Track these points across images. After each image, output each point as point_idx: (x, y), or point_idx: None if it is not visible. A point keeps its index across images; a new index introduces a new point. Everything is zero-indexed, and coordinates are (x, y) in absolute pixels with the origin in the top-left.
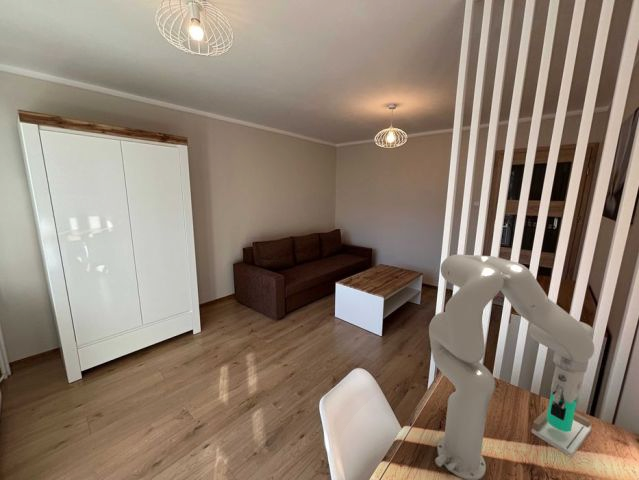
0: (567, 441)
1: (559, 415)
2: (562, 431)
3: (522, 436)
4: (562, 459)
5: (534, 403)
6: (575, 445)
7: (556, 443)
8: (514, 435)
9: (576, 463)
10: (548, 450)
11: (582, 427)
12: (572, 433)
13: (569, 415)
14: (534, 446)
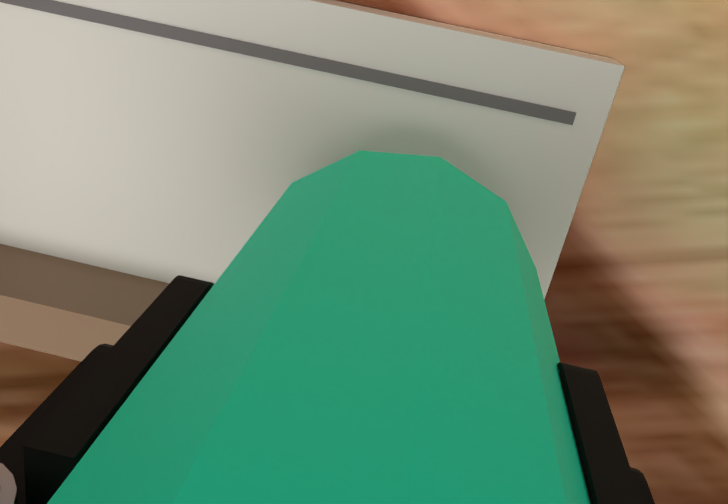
0: (438, 122)
1: (641, 491)
2: (294, 174)
3: (630, 430)
4: (708, 128)
5: (30, 383)
6: (440, 46)
7: (572, 212)
8: (669, 479)
9: (668, 8)
10: (663, 243)
11: (15, 1)
12: (235, 86)
13: (533, 367)
14: (700, 344)
